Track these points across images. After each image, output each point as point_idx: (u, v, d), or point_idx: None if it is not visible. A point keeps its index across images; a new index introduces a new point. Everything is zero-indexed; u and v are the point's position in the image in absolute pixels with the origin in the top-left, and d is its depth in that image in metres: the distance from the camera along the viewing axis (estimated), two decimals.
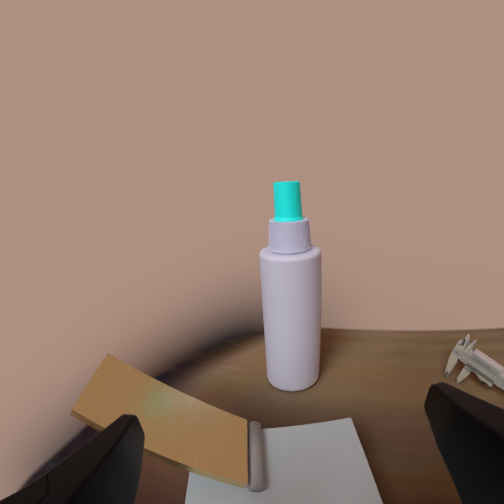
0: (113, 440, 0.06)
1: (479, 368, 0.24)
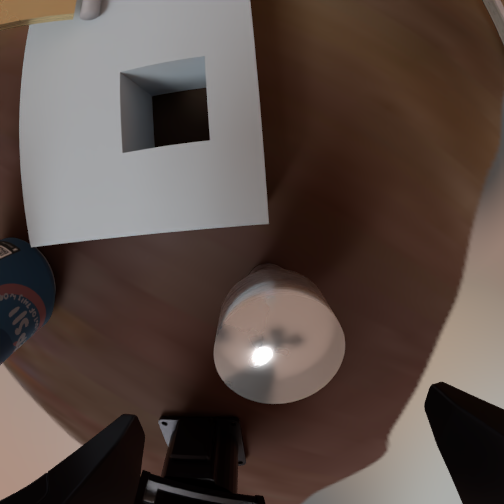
0: (113, 441, 0.06)
1: None
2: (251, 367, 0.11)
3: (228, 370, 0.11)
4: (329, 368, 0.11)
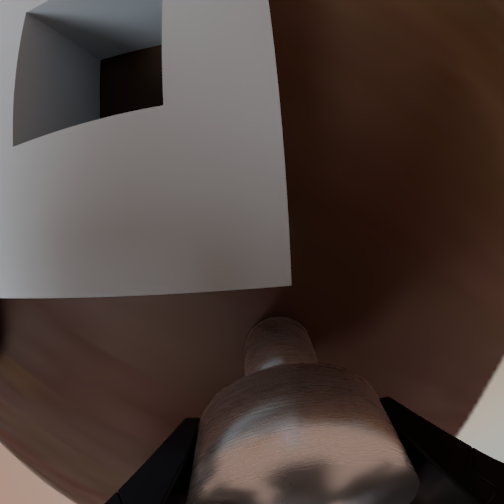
0: (182, 447, 0.06)
1: None
2: None
3: None
4: None
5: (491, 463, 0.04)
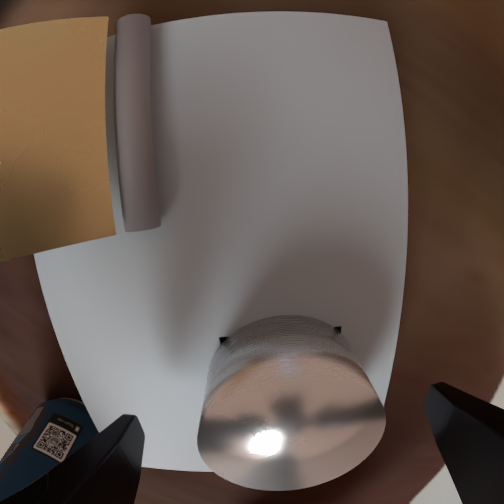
0: (113, 441, 0.06)
1: None
2: (252, 459, 0.07)
3: (219, 461, 0.07)
4: (359, 453, 0.07)
5: None
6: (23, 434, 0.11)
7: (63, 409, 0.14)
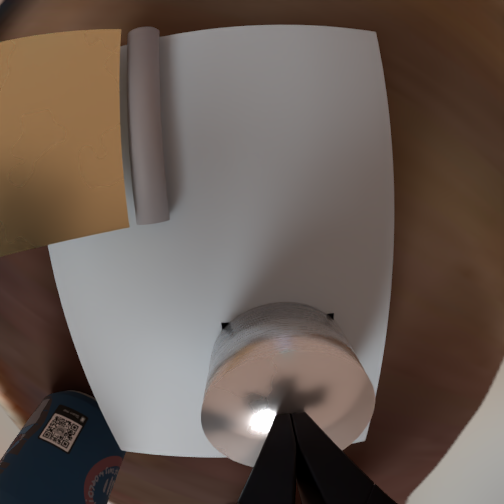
0: (284, 444, 0.06)
1: None
2: (251, 435, 0.08)
3: (221, 437, 0.08)
4: (352, 431, 0.08)
5: None
6: (29, 425, 0.12)
7: (69, 400, 0.15)
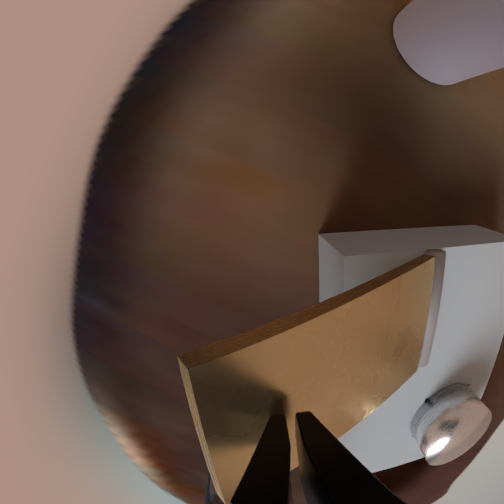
0: (278, 445, 0.06)
1: None
2: (444, 449, 0.13)
3: (432, 454, 0.13)
4: (477, 437, 0.13)
5: None
6: None
7: None
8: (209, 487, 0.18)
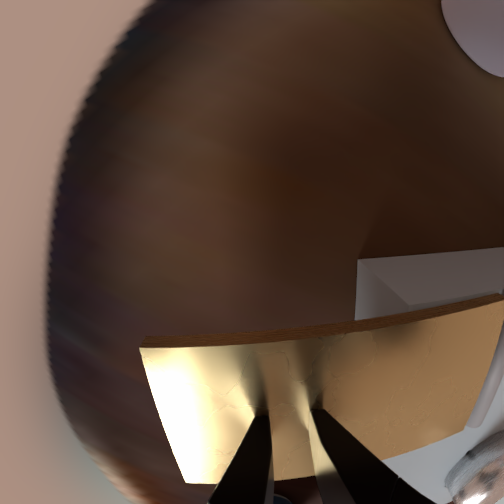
0: (260, 446, 0.06)
1: None
2: (481, 503, 0.08)
3: None
4: None
5: (419, 497, 0.04)
6: None
7: None
8: None
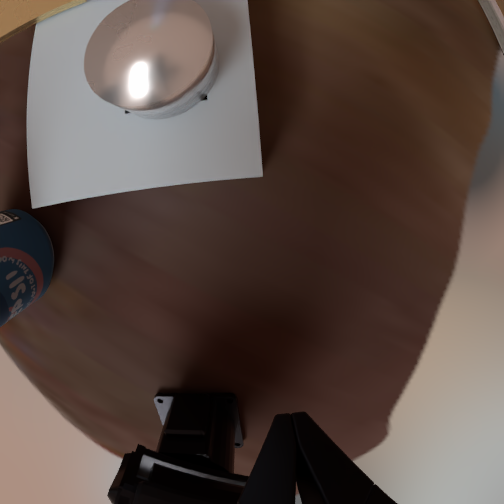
0: (284, 444, 0.06)
1: None
2: (114, 60, 0.09)
3: (94, 68, 0.09)
4: (196, 54, 0.09)
5: None
6: None
7: (11, 210, 0.16)
8: None
